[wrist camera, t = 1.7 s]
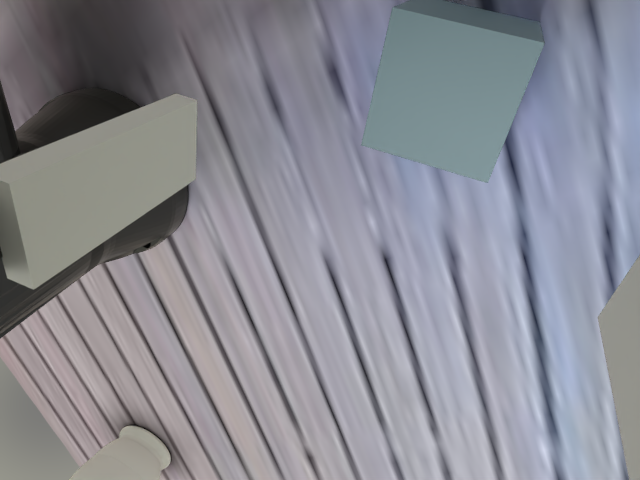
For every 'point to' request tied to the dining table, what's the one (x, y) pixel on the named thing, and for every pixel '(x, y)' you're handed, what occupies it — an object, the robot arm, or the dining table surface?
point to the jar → (127, 458)
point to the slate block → (450, 84)
